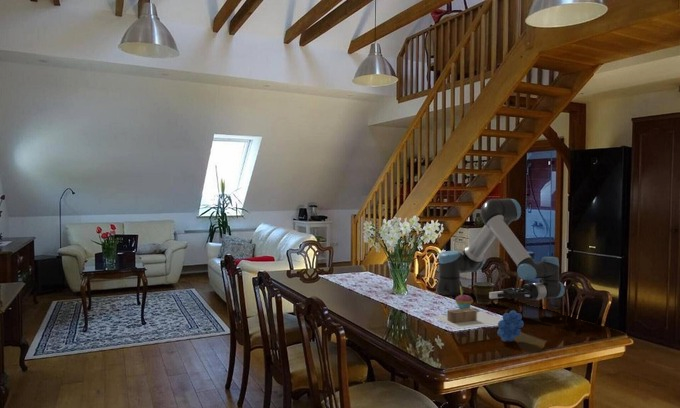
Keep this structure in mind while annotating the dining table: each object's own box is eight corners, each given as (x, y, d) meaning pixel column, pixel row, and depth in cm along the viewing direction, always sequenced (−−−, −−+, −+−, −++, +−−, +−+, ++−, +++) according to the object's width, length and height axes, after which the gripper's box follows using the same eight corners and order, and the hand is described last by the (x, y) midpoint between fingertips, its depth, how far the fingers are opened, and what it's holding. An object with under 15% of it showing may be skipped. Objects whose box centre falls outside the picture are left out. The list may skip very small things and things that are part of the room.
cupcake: (453, 310, 234) (453, 285, 233) (457, 306, 241) (457, 282, 241) (471, 312, 230) (471, 287, 229) (474, 308, 237) (474, 284, 237)
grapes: (515, 336, 192) (515, 306, 191) (527, 341, 185) (527, 310, 185) (490, 339, 188) (490, 309, 188) (502, 344, 182) (502, 313, 181)
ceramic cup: (491, 301, 252) (491, 282, 252) (495, 305, 242) (495, 285, 242) (466, 300, 254) (466, 281, 253) (469, 305, 244) (469, 285, 243)
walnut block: (470, 317, 218) (447, 320, 214) (470, 308, 217) (447, 310, 214) (477, 320, 213) (453, 323, 209) (477, 310, 213) (453, 313, 209)
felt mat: (433, 318, 220) (433, 316, 220) (482, 312, 228) (482, 311, 228) (457, 330, 201) (457, 328, 201) (509, 323, 209) (509, 322, 209)
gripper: (543, 302, 219) (499, 306, 212) (524, 296, 231) (481, 300, 224) (543, 286, 219) (499, 290, 211) (524, 281, 231) (481, 284, 224)
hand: (490, 295), depth 218 cm, fingers closed
